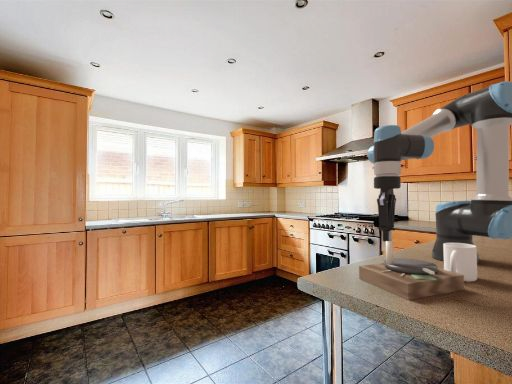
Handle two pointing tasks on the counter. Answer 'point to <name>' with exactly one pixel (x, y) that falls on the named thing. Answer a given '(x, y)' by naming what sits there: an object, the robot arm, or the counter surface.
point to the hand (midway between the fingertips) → (386, 251)
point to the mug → (461, 260)
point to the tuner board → (411, 281)
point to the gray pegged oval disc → (407, 263)
